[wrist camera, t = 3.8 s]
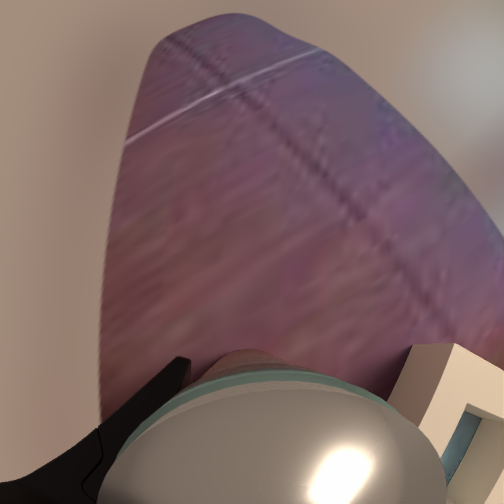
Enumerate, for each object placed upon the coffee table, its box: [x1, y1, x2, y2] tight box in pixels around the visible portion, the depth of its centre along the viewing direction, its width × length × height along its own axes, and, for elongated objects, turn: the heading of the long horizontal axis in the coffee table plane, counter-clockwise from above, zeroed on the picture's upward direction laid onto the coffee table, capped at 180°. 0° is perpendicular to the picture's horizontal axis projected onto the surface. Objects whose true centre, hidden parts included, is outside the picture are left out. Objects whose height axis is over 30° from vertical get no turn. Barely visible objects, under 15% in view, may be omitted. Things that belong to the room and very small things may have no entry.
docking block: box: [387, 343, 504, 504], centre depth 12 cm, size 10×10×4 cm
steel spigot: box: [97, 349, 447, 504], centre depth 9 cm, size 5×5×13 cm
